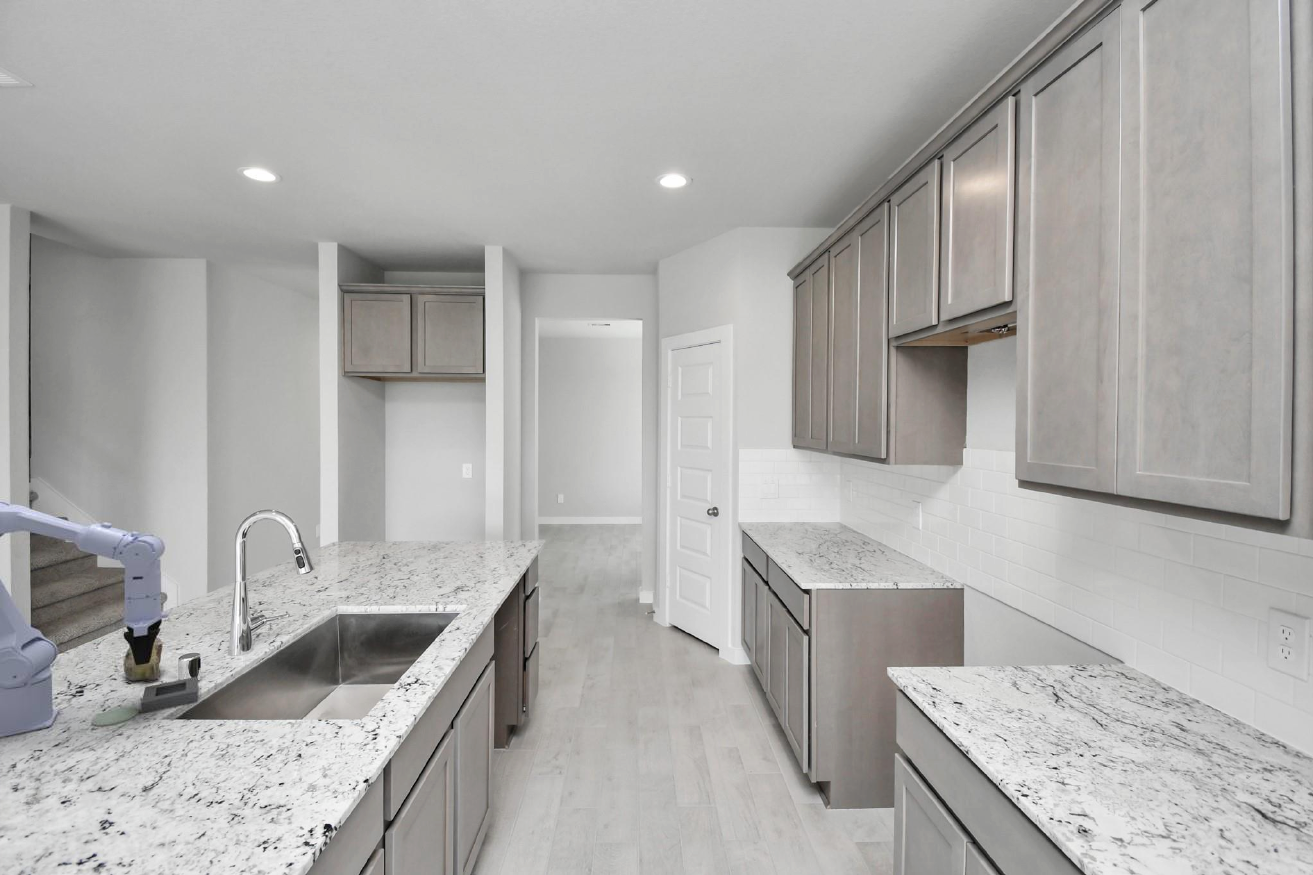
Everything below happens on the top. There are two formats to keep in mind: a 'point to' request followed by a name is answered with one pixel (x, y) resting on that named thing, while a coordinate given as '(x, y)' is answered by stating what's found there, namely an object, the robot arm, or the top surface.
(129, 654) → the rock
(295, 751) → the top surface
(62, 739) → the top surface
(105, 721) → the mat
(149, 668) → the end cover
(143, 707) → the housing
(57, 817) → the top surface
